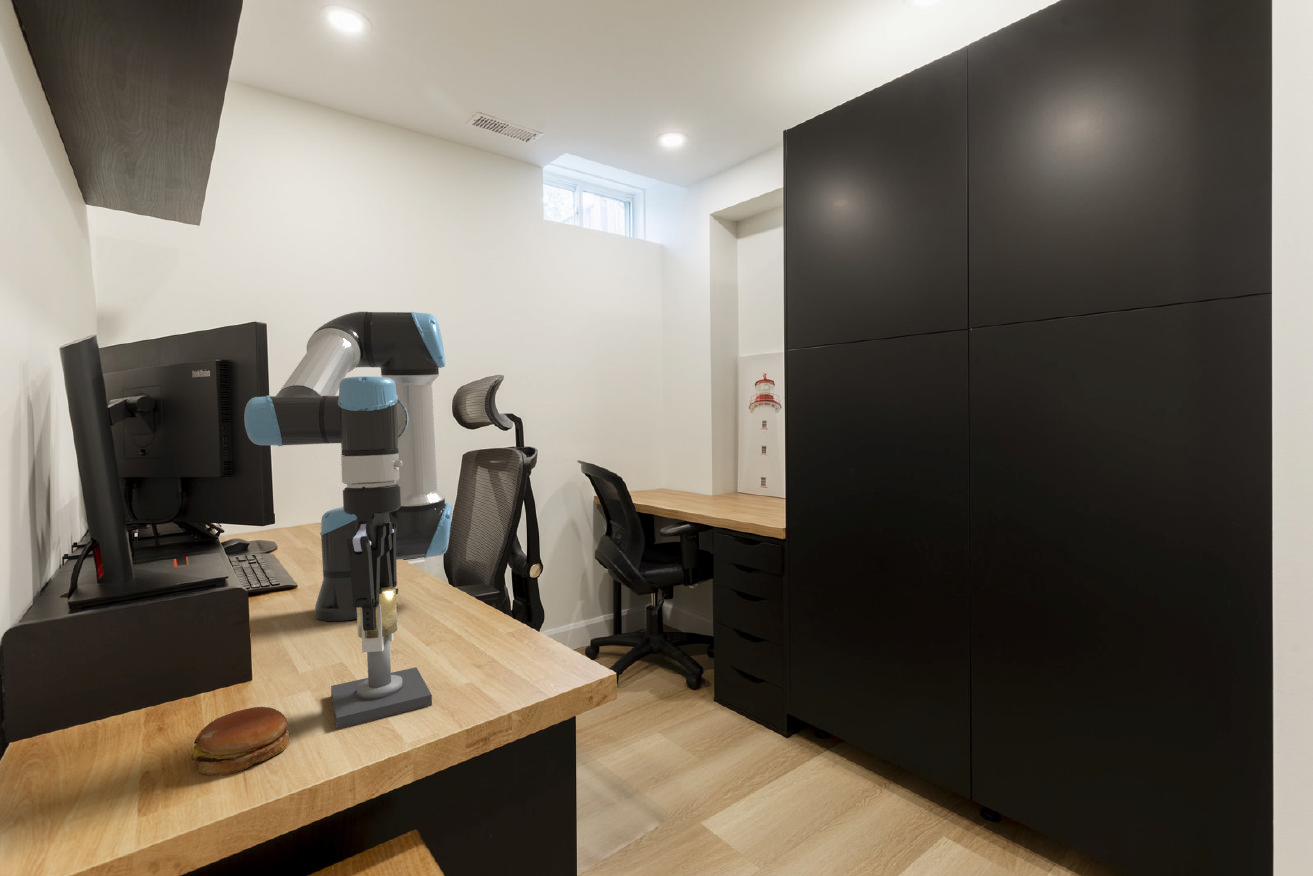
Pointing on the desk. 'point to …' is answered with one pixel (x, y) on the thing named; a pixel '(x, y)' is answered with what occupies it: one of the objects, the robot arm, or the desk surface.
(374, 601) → the robot arm
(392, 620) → the cap
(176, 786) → the desk surface
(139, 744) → the desk surface
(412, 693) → the post block
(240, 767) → the burger
